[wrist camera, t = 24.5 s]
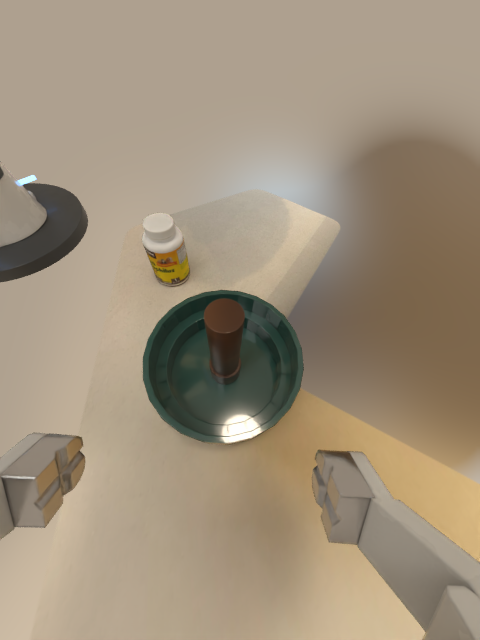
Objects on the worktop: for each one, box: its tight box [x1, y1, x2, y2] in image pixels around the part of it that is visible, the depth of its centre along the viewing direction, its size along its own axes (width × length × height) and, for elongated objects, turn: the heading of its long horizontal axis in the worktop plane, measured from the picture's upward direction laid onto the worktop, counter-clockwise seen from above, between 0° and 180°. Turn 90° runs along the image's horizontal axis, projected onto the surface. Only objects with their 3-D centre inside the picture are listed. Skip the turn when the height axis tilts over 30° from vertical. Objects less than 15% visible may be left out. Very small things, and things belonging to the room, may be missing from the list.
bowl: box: [143, 290, 304, 445], centre depth 27 cm, size 17×17×6 cm
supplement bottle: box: [142, 213, 190, 286], centre depth 34 cm, size 6×6×10 cm
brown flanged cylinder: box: [204, 298, 245, 385], centre depth 24 cm, size 4×4×14 cm
